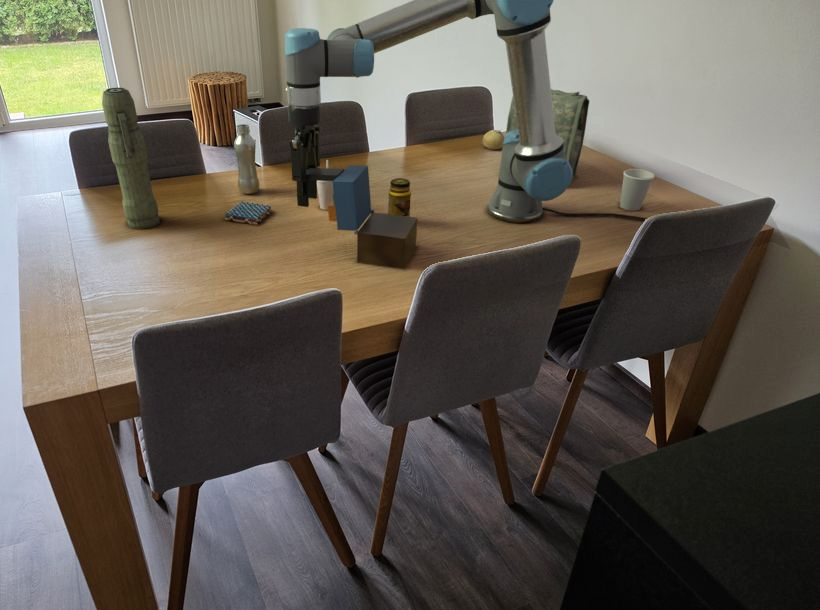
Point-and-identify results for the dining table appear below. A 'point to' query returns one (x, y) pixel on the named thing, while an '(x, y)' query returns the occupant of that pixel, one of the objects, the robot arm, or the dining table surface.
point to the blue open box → (347, 193)
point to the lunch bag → (564, 122)
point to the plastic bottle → (246, 160)
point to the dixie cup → (635, 188)
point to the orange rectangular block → (332, 212)
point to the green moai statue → (130, 158)
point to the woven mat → (248, 213)
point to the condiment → (399, 197)
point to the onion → (493, 139)
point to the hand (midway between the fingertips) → (307, 201)
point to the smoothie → (325, 192)
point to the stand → (386, 240)
